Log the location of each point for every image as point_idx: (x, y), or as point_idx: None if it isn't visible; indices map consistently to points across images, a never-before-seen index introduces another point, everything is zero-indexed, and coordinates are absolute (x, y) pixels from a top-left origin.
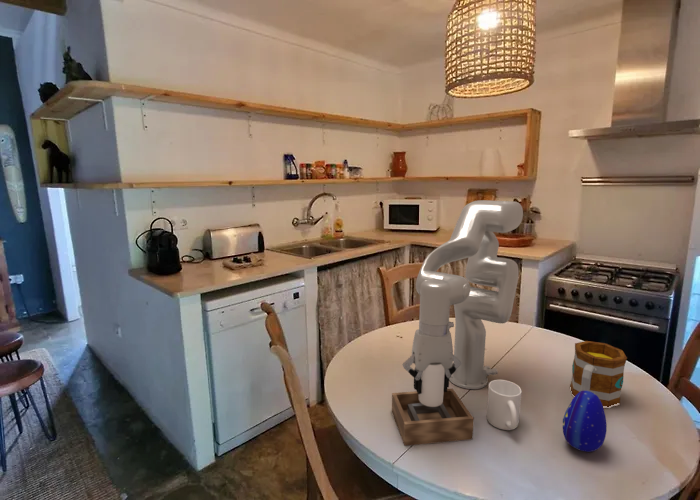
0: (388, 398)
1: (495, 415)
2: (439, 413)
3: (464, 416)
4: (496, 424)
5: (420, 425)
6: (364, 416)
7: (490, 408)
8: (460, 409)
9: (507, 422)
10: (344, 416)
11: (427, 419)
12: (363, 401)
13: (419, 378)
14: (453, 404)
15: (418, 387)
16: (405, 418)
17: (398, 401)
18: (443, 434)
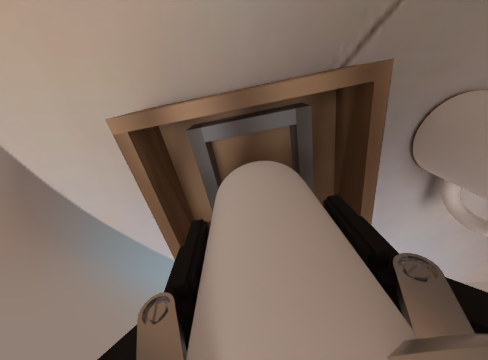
0: (116, 14)
1: (445, 175)
2: (289, 128)
3: (351, 199)
4: (423, 168)
5: None
6: (69, 136)
7: (454, 165)
8: (354, 175)
9: (455, 185)
10: (11, 139)
11: (249, 156)
12: (26, 45)
13: None
14: (348, 115)
15: None
16: (178, 249)
17: (144, 176)
18: None
